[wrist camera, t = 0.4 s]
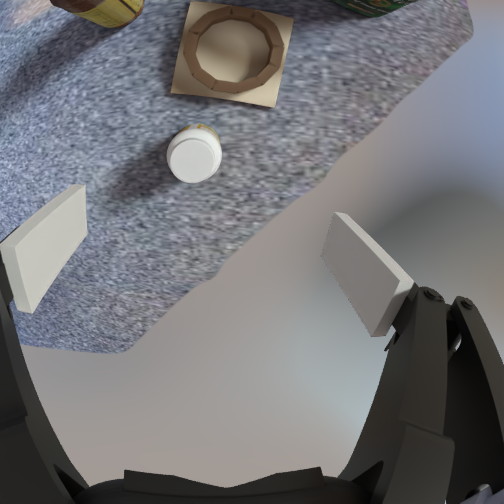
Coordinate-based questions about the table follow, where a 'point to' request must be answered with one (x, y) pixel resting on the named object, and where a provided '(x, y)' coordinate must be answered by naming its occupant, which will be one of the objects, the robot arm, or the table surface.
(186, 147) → the supplement bottle
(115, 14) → the sauce bottle
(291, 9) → the table surface
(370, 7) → the coffee jar
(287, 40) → the collar
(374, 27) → the table surface
